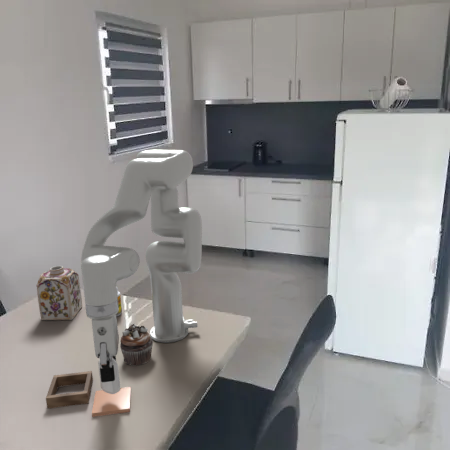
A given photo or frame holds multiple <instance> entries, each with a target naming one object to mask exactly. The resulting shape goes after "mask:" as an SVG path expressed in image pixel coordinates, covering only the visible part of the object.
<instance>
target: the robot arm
mask: <svg viewBox="0 0 450 450" xmlns="http://www.w3.org/2000/svg"><path fill="white" fill-rule="evenodd" d="M193 161H194V160H193V157H192V155H191V154H190V153H189V152H188V151H187V150H183V149H147V150H142V151H139V152H138V153H137V154H136V157H135V158H134V159H132V160H130V161H129V162H128V163H127V164H126V166H125V168H124V172H123V175H122V179H121V182H120V185H119V189H118V191H117V195H116V197H115V202H114V204H113V206H112V207H111V208H110V209H109V210H108V211H106V212H105V213H104V214H103V215H102V216H101V217H99V219H98V220H97V221H96V222H95V223H94V224H93V225H92V226H91V228H90V230H89V231H88V234H87V236H86V238H85V242H84V245H83V248H82V252H81V258H80V260H81V261H80V262H81V264H80V269H81V277H82V287H83V297H84V303H85V304H84V305H85V312H86V317H87V318H88V319H91V329H92V337H93V347H94V353H95V357H96V358H97V359H99V360H100V374H99V376H100V375H101V382H110V381H114V380H115V374H114V365H112V357H113V359H114V360H115V361H116V362H117V355H118V353H119V352H118V351H119V343H120V337H119V335H120V334H119V329H118V320H117V316H116V314H117V313H118V312H119V307H118V297H117V288H118V287H117V286H118V285H117V282H119V281H121V280H124V279H128V278H129V277H131V276H132V275H134V274H135V273H136V272H137V270H138V268H139V267H140V255H139V253H138V252H137V250H135V249H133V248H132V247H131V248H130V247H128V246H127V247H125V246H114V245H106V242H107V241H108V239H109V238H110V237H111V235H112V234H114V233H115V232H117V231H118V230H120V229H123V228H126V227H127V226H129V225H132V224H134V223H137V222H139V221H142V220H143V219H144V218H145V217H146V214H147V212H148V207H149V204H150V229H151V231H152V233H153V234H154V236H157V237H160V238H177V239H183V241H182V242H181V241H170V240H169V241H168V240H158V241H154V242H151V243H150V244H149V245H148V246H147V247H146V250H145V261H146V265H147V266H146V267H147V269H148V272H149V278H150V289H151V290H150V291H151V304H152V314H153V327H151V329H150V330H149V335H150V337H151V339H152V340H153V341H155V342H158V343H163V344H164V343H167V344H169V343H174V342H179V341H181V340H183V339H184V338H186V337H187V335H189V329H191V328H192V329H195V328H198V321H194V319H193V318H191V319H190V318H189V319H185V318H184V315H183V313H184V311H183V295H182V283H181V282H182V281H181V280H180V276H179V275H178V273H179V274H195V273H197V272H198V271H199V269H200V268H201V265H202V256H203V255H202V252H203V251H202V250H203V247H202V245H203V239H202V238H203V223H202V217H201V214H200V212H199V211H198V210H197V209H196V208H193V207H184V206H183V207H181V206H180V205H179V189H178V186H179V185H181V184H183V182H185V181H186V180H188V178H189V177H190V176H191V174H192V172H193V167H194V162H193ZM107 352H109V353H110V354H107ZM107 357H109V360H108V361H107Z"/></svg>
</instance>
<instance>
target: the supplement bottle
mask: <svg viewBox="0 0 450 450" xmlns="http://www.w3.org/2000/svg"><path fill="white" fill-rule="evenodd" d="M121 296H122V295H121V292H120V291H119V289H118V287H117V297H118V307H119V312H118V313H117V314H116V317H119V316H121V315H122V313H123V308H122V297H121Z"/></svg>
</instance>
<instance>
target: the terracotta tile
mask: <svg viewBox="0 0 450 450" xmlns="http://www.w3.org/2000/svg"><path fill="white" fill-rule="evenodd" d="M131 398H132V386H125V387H120V391H119V392H117V393H115V394H109V393H106V392H105V391H103V390H102V389H100V390H95V393H94V399H93V403H92V404H93V405H92V409H91V417H92V418H94V417H103V416H110V415H116V414H124V413H130V412H131Z"/></svg>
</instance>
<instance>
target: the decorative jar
mask: <svg viewBox="0 0 450 450" xmlns="http://www.w3.org/2000/svg"><path fill="white" fill-rule="evenodd" d="M36 293H37V294H36V295H37V302H38V307H39V314H40V320H41V321H71V320H72V321H73V320H74V318H75V317H76V316H77V315H78V313H79V312H80V310H81V308H82V307H83V300H82V299H83V298H82V291H81V283H80V275H79V274H78V272H76V271H75V270H74V269H72V268H69V267H64V266H63V265H54V266H52V267H50V268H49V270H47V271H44V272H43V273H40V275H39V278H38V281H37V284H36Z"/></svg>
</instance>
